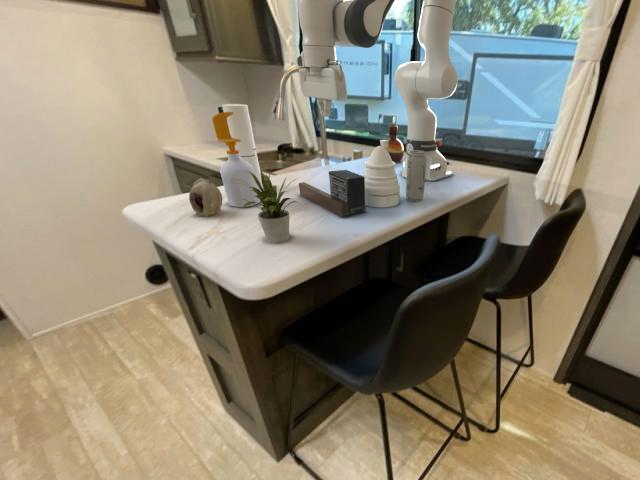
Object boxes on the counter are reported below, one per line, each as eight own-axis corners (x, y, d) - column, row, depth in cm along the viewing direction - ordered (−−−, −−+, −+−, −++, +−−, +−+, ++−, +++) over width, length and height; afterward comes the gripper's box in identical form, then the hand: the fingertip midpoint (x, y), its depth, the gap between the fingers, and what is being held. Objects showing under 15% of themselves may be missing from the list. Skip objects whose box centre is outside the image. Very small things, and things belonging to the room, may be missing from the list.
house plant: (229, 240, 78) (209, 168, 69) (275, 223, 88) (263, 158, 78) (269, 255, 72) (253, 180, 63) (314, 235, 82) (306, 167, 73)
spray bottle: (241, 209, 95) (218, 114, 81) (222, 203, 99) (197, 111, 85) (266, 202, 102) (249, 112, 88) (247, 196, 105) (228, 109, 91)
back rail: (305, 194, 110) (304, 182, 108) (348, 216, 94) (347, 202, 92) (300, 195, 109) (298, 183, 107) (342, 217, 93) (341, 203, 91)
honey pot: (377, 192, 114) (376, 136, 104) (407, 200, 109) (410, 141, 98) (352, 201, 106) (349, 140, 95) (383, 210, 100) (384, 146, 90)
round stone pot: (201, 218, 95) (185, 183, 91) (231, 211, 96) (217, 176, 93) (192, 220, 86) (175, 181, 83) (226, 212, 88) (210, 173, 84)
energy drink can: (422, 202, 107) (425, 153, 99) (404, 200, 108) (406, 152, 100) (424, 197, 112) (428, 150, 104) (407, 195, 113) (409, 149, 105)
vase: (405, 159, 163) (407, 125, 155) (401, 164, 154) (402, 127, 146) (384, 157, 165) (384, 123, 156) (378, 162, 156) (378, 126, 147)
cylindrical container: (266, 185, 117) (251, 104, 103) (257, 191, 111) (240, 106, 97) (247, 184, 117) (229, 103, 103) (237, 189, 111) (217, 105, 97)
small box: (366, 212, 98) (366, 176, 92) (348, 216, 94) (346, 179, 88) (348, 202, 104) (346, 168, 98) (330, 206, 101) (327, 171, 95)
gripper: (350, 60, 86) (354, 119, 94) (312, 60, 98) (318, 112, 106) (330, 59, 83) (335, 120, 91) (293, 59, 95) (300, 113, 103)
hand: (325, 116), depth 99 cm, fingers closed
